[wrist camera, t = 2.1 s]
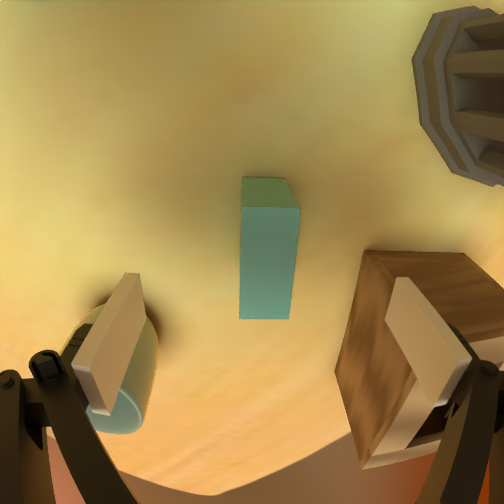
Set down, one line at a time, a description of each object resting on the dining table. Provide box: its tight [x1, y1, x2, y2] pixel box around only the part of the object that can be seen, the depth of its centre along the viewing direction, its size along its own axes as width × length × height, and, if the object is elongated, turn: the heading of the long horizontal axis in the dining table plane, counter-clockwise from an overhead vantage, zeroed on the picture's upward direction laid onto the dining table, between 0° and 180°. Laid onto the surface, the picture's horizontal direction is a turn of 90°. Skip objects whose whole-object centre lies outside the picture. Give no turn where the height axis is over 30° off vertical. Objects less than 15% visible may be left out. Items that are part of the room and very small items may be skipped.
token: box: [239, 177, 301, 319], centre depth 21 cm, size 7×3×7 cm, turn 178°
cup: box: [59, 303, 159, 434], centre depth 23 cm, size 8×8×10 cm
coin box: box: [335, 251, 504, 469], centre depth 23 cm, size 14×11×12 cm
